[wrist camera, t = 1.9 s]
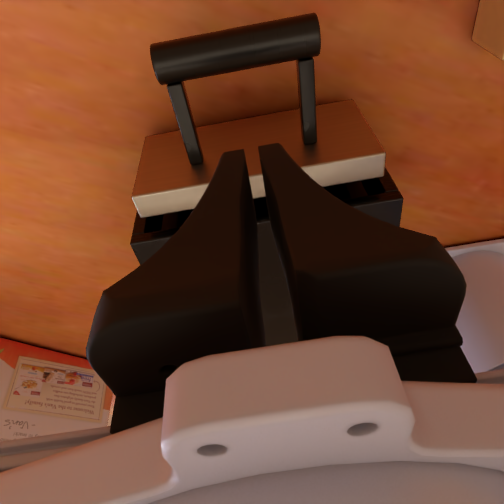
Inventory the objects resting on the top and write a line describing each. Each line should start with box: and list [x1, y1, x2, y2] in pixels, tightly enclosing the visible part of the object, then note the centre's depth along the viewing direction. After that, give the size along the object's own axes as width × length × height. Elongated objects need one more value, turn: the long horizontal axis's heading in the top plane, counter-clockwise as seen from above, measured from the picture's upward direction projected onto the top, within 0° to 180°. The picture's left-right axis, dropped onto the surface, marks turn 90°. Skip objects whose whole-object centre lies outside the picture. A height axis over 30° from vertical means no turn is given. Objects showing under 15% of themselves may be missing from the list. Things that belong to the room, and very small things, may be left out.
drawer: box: [132, 13, 386, 230], centre depth 21 cm, size 17×10×5 cm, turn 9°
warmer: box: [130, 168, 403, 346], centre depth 24 cm, size 13×12×7 cm
